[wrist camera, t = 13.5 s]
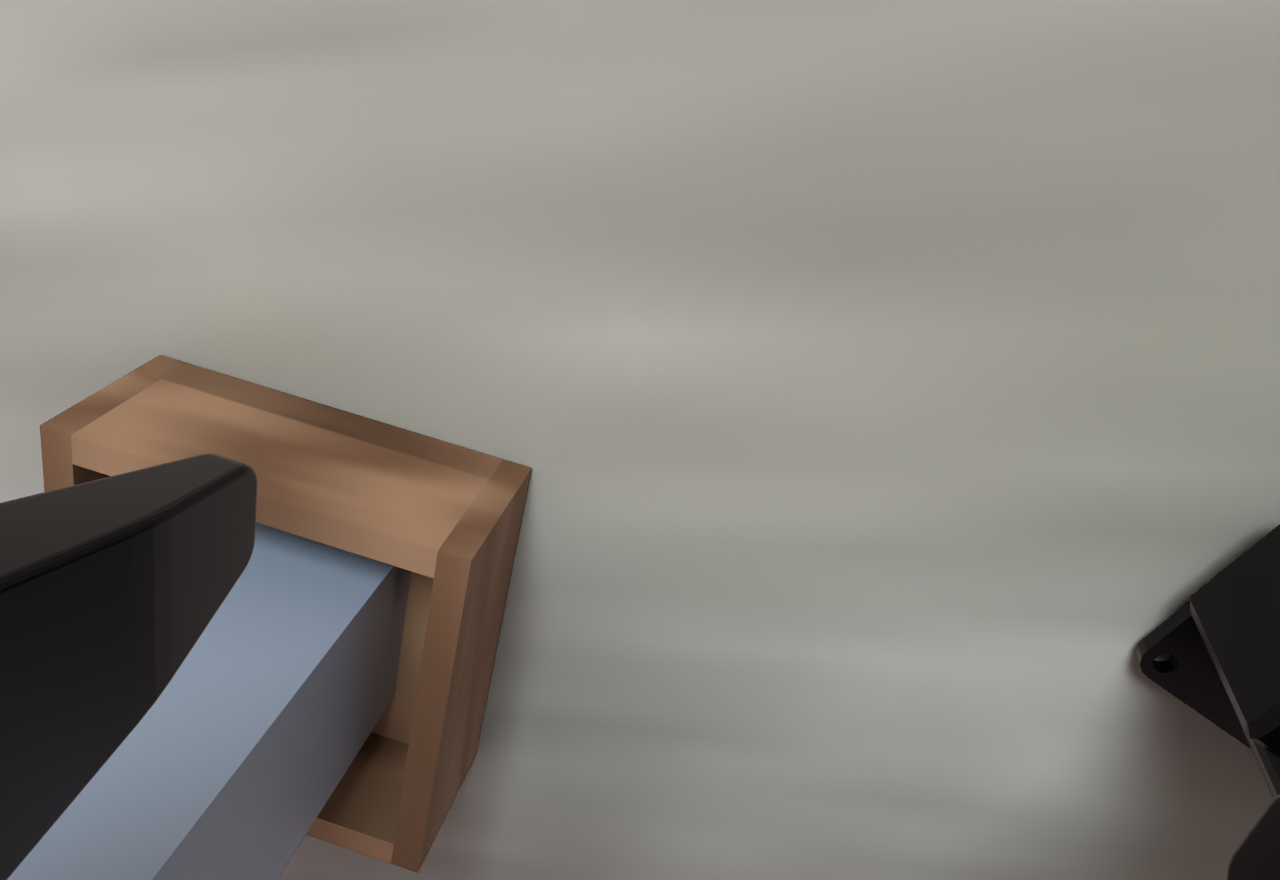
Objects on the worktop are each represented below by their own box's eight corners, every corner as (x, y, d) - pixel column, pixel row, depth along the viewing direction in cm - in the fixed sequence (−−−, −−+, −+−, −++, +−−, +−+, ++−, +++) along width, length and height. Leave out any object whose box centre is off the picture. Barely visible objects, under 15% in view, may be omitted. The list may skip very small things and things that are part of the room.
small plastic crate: (415, 537, 24) (53, 1007, 14) (394, 695, 26) (73, 1199, 16) (219, 477, 25) (-279, 887, 14) (216, 637, 27) (-211, 1090, 16)
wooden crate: (531, 468, 24) (471, 561, 20) (475, 755, 28) (417, 872, 25) (160, 355, 25) (40, 425, 21) (162, 652, 29) (64, 751, 26)
